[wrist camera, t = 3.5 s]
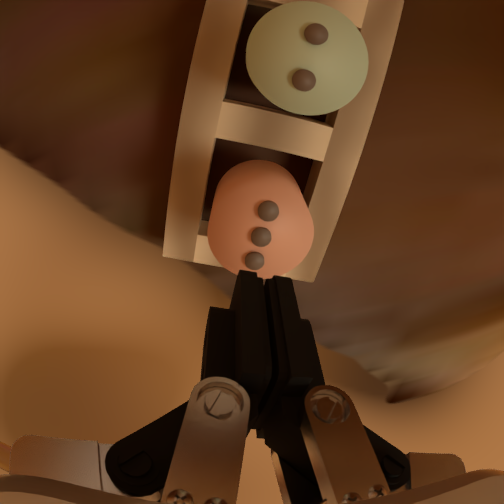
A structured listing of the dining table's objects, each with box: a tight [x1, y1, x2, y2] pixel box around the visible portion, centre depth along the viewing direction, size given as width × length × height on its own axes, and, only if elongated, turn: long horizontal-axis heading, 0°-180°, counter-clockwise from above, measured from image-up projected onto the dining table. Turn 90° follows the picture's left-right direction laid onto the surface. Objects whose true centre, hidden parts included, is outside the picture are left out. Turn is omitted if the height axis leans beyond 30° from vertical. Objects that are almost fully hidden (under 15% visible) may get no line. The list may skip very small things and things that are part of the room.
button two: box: [246, 1, 369, 115], centre depth 12 cm, size 5×5×4 cm
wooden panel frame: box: [163, 0, 404, 282], centre depth 15 cm, size 10×26×2 cm, turn 167°
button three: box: [207, 160, 314, 279], centre depth 16 cm, size 5×5×4 cm
